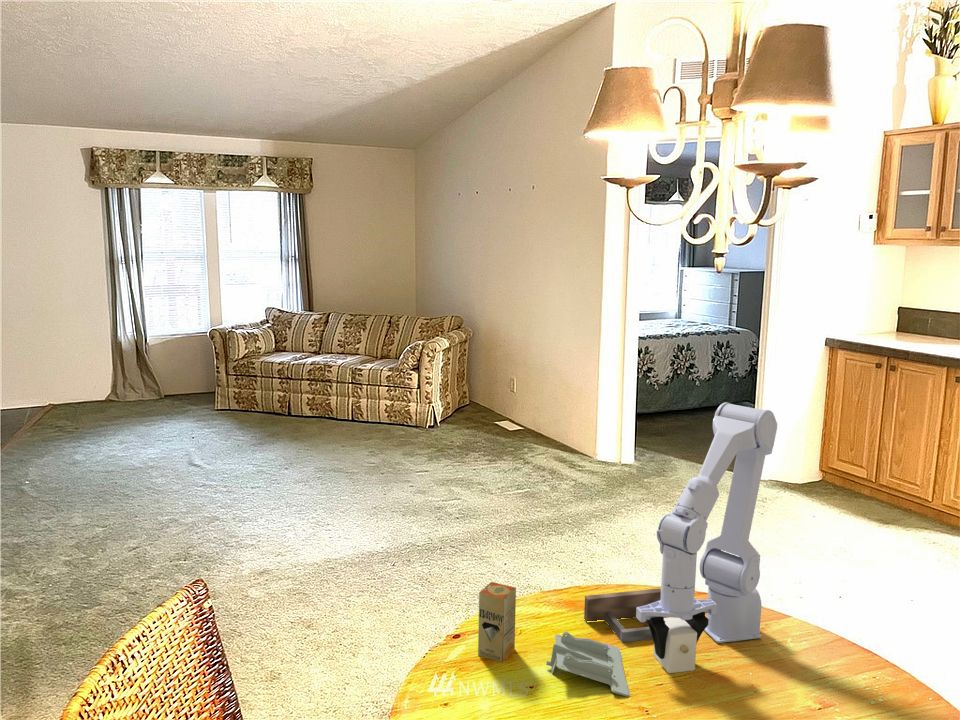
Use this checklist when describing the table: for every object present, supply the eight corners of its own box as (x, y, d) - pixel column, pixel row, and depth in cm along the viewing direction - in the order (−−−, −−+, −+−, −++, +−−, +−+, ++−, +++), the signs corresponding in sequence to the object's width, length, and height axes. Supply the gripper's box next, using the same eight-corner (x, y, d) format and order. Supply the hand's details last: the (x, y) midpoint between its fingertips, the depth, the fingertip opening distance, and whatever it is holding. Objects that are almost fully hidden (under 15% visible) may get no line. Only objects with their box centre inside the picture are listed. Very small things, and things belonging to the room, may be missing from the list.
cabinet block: (678, 652, 141) (680, 616, 139) (697, 672, 134) (699, 635, 133) (653, 655, 139) (655, 619, 138) (670, 675, 133) (673, 638, 132)
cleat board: (658, 611, 156) (659, 588, 155) (681, 635, 146) (683, 610, 146) (584, 619, 152) (584, 595, 151) (603, 644, 143) (604, 619, 142)
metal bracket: (556, 662, 126) (553, 618, 141) (545, 693, 127) (543, 646, 142) (640, 689, 126) (628, 641, 141) (628, 719, 127) (617, 669, 142)
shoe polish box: (490, 642, 143) (491, 581, 141) (514, 649, 141) (516, 587, 139) (478, 655, 139) (479, 592, 137) (502, 662, 136) (504, 598, 135)
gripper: (650, 596, 129) (646, 670, 131) (727, 588, 133) (722, 661, 135) (632, 578, 136) (629, 649, 138) (706, 571, 139) (702, 640, 141)
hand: (674, 654), depth 137 cm, fingers closed on cabinet block, 5 cm apart
